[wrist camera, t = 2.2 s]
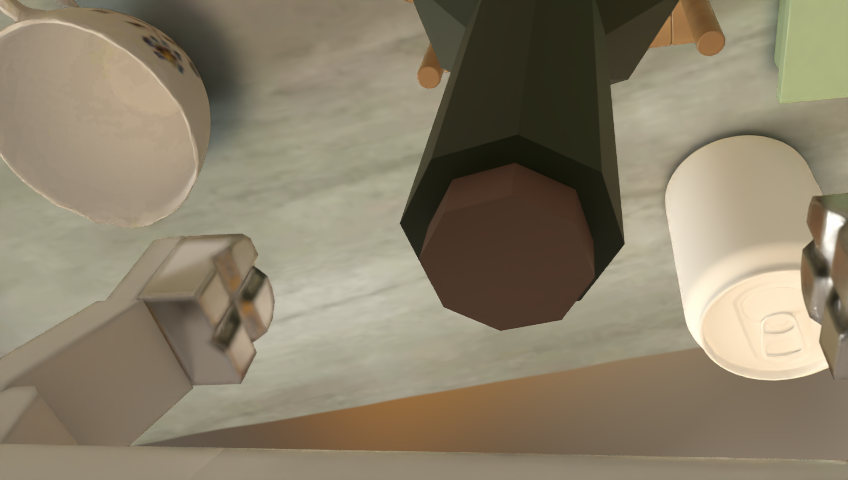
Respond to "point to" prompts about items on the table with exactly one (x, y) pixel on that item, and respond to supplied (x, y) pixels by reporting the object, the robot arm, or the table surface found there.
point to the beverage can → (745, 255)
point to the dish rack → (681, 27)
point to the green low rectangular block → (812, 50)
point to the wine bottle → (524, 152)
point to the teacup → (100, 112)
